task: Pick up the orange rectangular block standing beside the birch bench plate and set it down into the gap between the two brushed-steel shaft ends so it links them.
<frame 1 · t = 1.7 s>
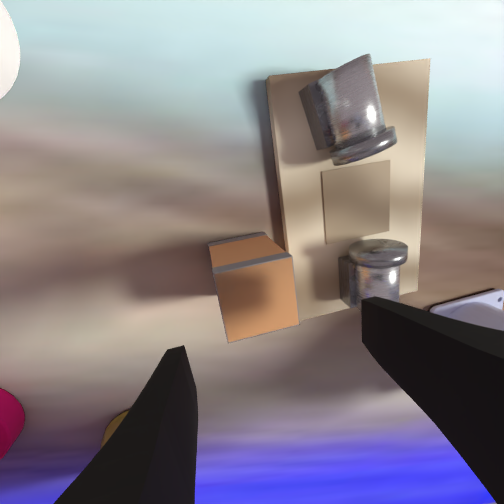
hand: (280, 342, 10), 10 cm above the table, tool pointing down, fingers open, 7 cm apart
shaft 2: (352, 263, 21), resting on bench plate
shaft 1: (328, 123, 17), resting on bench plate
bench plate: (350, 202, 19), on the table
orange rectangular block: (240, 263, 19), on the table
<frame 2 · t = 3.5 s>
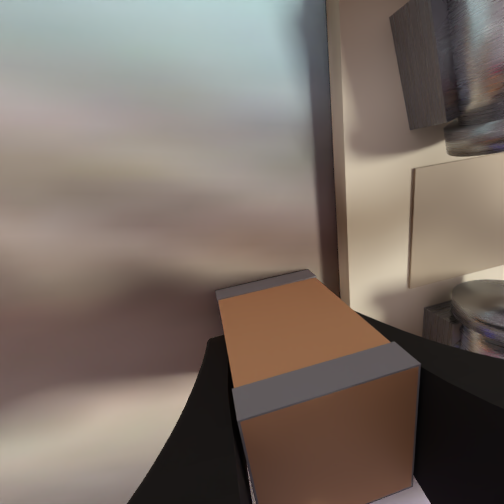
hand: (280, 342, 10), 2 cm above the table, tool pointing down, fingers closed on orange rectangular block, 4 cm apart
shaft 2: (438, 312, 14), resting on bench plate
shaft 1: (425, 84, 10), resting on bench plate
bench plate: (446, 218, 12), on the table
orange rectangular block: (269, 320, 12), on the table, touching gripper
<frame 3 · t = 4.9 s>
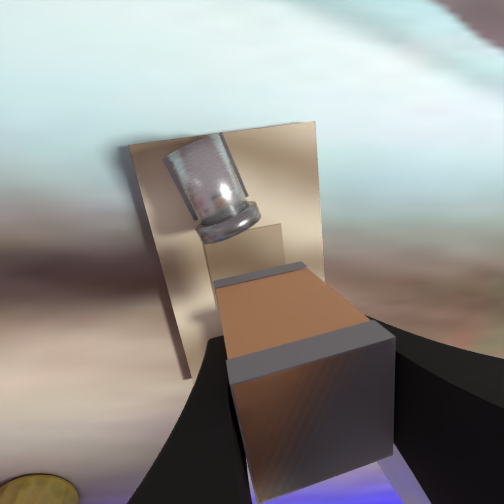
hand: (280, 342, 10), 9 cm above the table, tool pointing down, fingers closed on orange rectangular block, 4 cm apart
shaft 1: (210, 186, 16), resting on bench plate
vase: (38, 498, 21), on the table
bench plate: (246, 263, 18), on the table
orange rectangular block: (264, 310, 12), point 7 cm above the table, touching gripper
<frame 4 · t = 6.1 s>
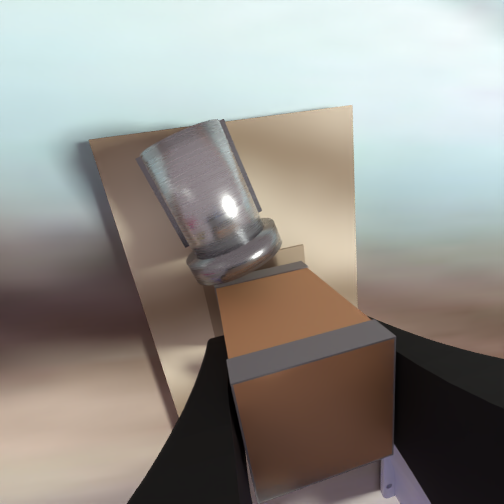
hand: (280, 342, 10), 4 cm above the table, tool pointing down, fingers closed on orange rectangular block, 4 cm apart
shaft 1: (207, 196, 12), resting on bench plate
bench plate: (256, 295, 14), on the table
orange rectangular block: (264, 310, 12), point 2 cm above the table, touching gripper
when the fingers open (4 cm above the table, at t = 6.6 s): orange rectangular block stays where it is, resting on bench plate.
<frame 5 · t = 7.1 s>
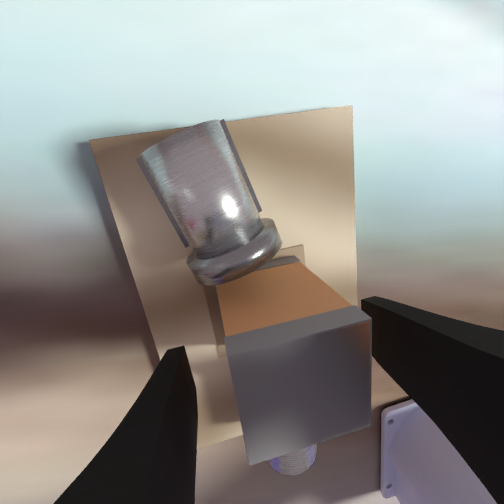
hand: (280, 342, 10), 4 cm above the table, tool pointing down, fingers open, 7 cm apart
shaft 2: (268, 369, 16), resting on bench plate
shaft 1: (208, 196, 12), resting on bench plate
bench plate: (256, 295, 14), on the table
orange rectangular block: (259, 300, 13), point 1 cm above the table, touching bench plate
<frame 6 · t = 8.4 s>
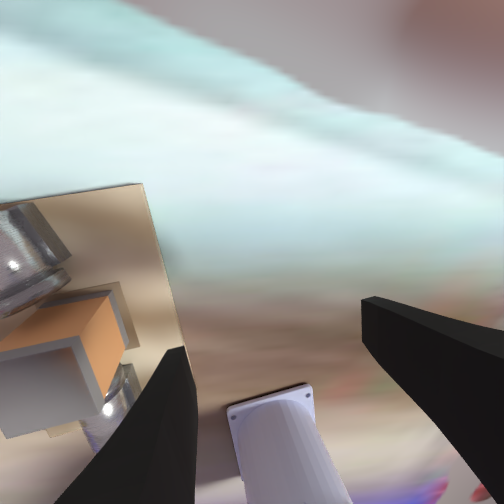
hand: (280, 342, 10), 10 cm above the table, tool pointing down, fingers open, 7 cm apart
shaft 2: (116, 374, 20), resting on bench plate
shaft 1: (40, 247, 16), resting on bench plate
bench plate: (94, 317, 18), on the table
orange rectangular block: (89, 323, 17), point 1 cm above the table, touching bench plate
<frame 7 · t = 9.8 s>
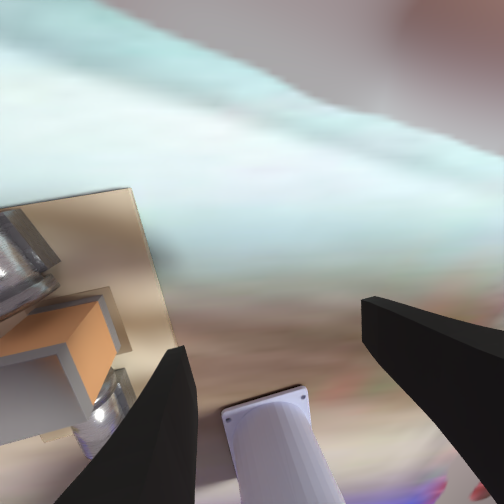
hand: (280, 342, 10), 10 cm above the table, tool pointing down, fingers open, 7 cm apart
shaft 2: (109, 378, 20), resting on bench plate
shaft 1: (29, 253, 16), resting on bench plate
bench plate: (86, 322, 18), on the table
orange rectangular block: (80, 328, 17), point 1 cm above the table, touching bench plate
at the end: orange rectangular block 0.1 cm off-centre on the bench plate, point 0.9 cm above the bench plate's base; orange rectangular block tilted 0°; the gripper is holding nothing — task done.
